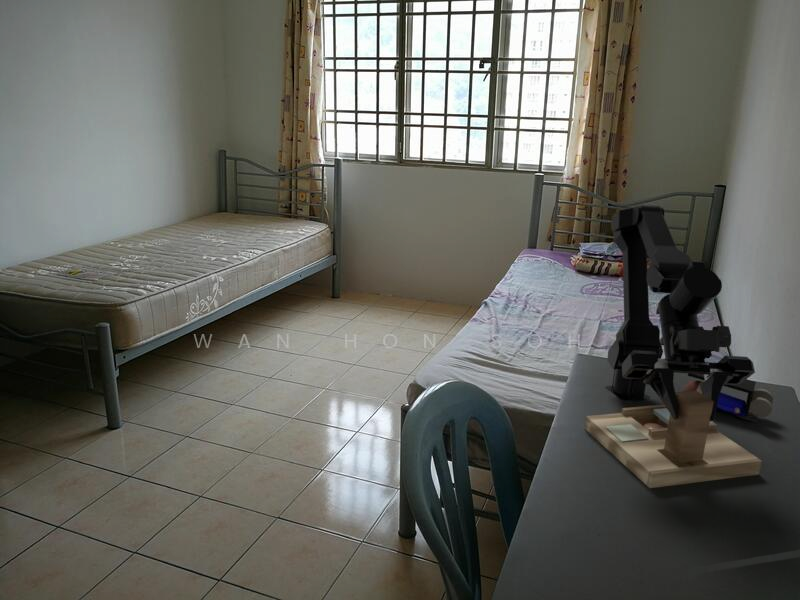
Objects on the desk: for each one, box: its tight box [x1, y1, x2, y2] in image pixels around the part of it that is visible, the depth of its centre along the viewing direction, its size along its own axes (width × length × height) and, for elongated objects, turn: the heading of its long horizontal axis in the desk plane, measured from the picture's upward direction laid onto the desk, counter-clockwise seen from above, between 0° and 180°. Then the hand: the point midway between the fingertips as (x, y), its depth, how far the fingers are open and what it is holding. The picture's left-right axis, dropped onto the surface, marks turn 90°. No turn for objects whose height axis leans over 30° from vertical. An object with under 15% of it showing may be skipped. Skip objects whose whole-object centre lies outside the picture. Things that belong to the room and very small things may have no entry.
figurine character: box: [683, 373, 774, 423], centre depth 124 cm, size 7×8×15 cm
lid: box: [653, 408, 715, 424], centre depth 113 cm, size 7×8×4 cm
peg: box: [664, 390, 714, 463], centre depth 100 cm, size 4×4×10 cm
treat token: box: [644, 423, 664, 430], centre depth 113 cm, size 4×4×1 cm
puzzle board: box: [584, 404, 762, 489], centre depth 108 cm, size 19×20×4 cm
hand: (693, 419), depth 98 cm, fingers closed on peg, 5 cm apart
